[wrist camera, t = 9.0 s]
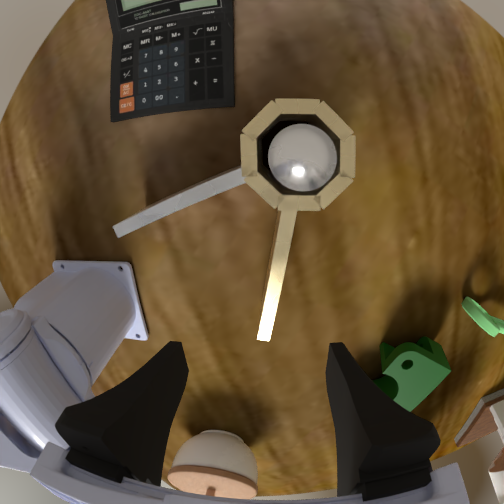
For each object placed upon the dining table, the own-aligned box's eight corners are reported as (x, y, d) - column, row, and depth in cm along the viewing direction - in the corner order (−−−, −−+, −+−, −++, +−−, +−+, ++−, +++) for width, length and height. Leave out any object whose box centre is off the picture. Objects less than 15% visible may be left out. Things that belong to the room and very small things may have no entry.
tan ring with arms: (160, 297, 24) (137, 332, 19) (138, 122, 18) (101, 120, 14) (328, 301, 22) (338, 340, 18) (335, 110, 17) (354, 101, 12)
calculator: (116, 122, 19) (94, 121, 16) (122, -1, 14) (105, -13, 12) (235, 107, 18) (228, 101, 15) (234, -24, 14) (227, -43, 11)
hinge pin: (273, 174, 19) (270, 193, 13) (270, 131, 18) (265, 125, 11) (317, 172, 19) (337, 190, 12) (314, 129, 18) (334, 123, 11)
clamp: (383, 314, 27) (416, 327, 19) (421, 336, 26) (460, 353, 18) (327, 403, 27) (339, 443, 19) (367, 421, 26) (388, 460, 18)
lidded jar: (190, 409, 29) (170, 475, 21) (275, 433, 30) (271, 498, 21) (175, 443, 33) (159, 495, 25) (245, 463, 34) (238, 515, 25)
